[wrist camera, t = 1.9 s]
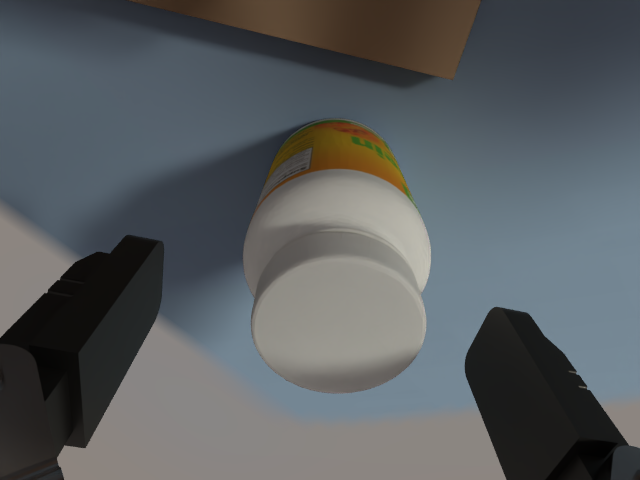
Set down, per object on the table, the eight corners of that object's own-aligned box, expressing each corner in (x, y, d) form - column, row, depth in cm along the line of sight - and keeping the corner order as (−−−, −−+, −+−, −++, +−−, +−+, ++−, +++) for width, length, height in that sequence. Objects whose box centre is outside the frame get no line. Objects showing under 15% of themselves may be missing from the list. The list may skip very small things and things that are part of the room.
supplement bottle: (423, 182, 18) (509, 340, 9) (330, 255, 20) (330, 442, 11) (339, 85, 16) (350, 170, 7) (245, 175, 18) (168, 326, 9)
